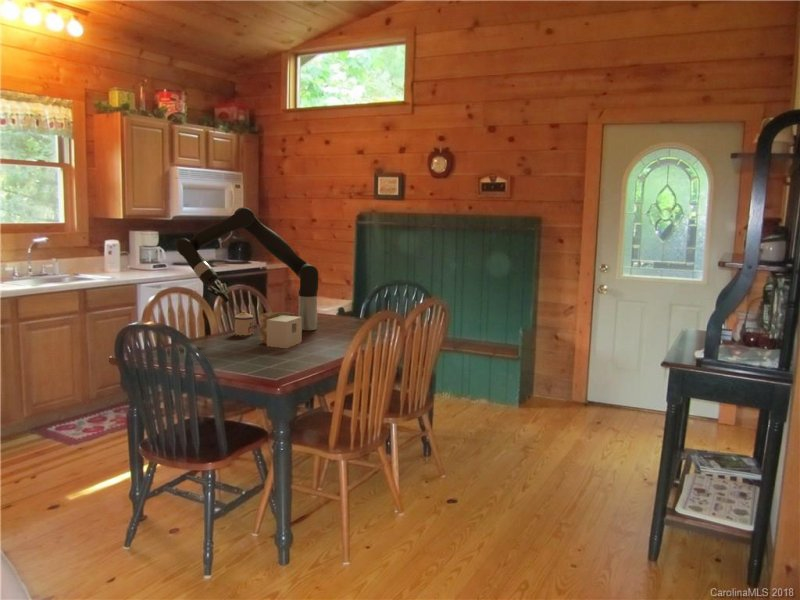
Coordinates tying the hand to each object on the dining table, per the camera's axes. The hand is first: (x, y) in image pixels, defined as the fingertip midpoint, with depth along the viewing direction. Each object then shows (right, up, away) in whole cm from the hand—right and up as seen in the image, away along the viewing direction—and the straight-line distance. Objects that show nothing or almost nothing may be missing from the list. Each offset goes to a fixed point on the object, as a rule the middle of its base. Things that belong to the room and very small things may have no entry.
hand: (228, 300), depth 306 cm
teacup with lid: (+4, -16, +14) cm, 22 cm away
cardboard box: (+28, -20, -7) cm, 35 cm away
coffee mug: (+21, -16, +17) cm, 32 cm away
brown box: (+25, -19, -6) cm, 32 cm away
